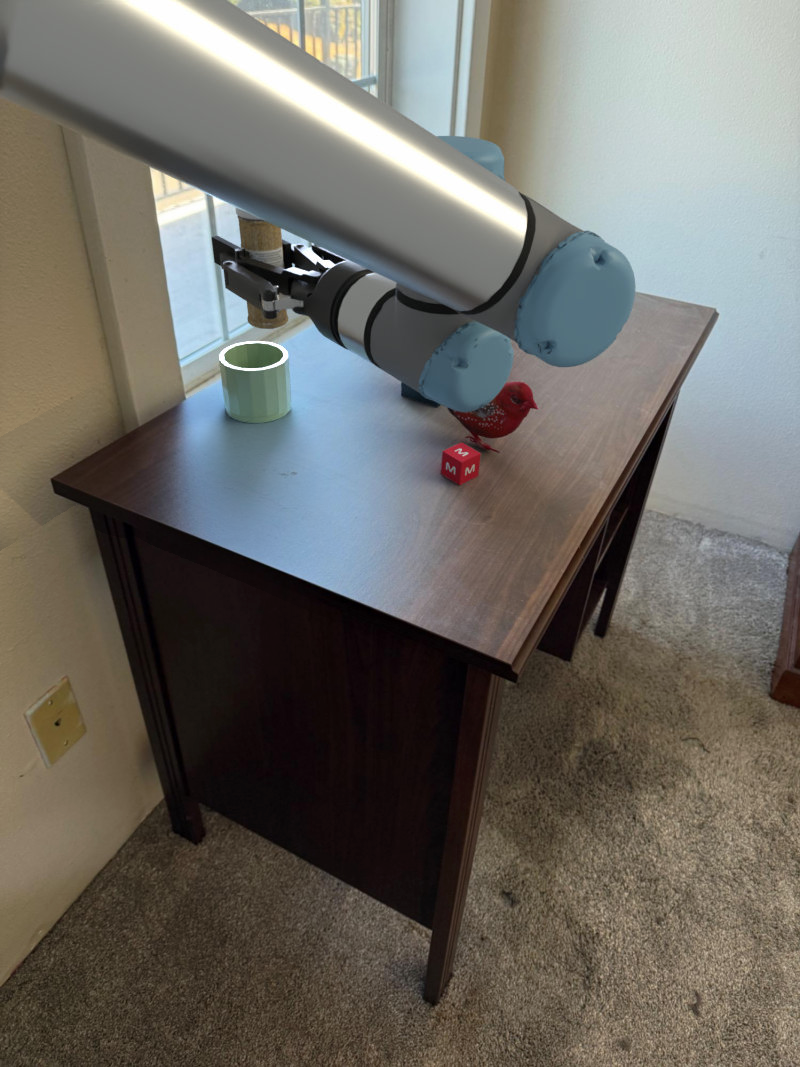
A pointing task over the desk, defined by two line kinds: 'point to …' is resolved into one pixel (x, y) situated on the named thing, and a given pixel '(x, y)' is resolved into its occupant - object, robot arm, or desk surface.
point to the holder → (255, 381)
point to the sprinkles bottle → (262, 259)
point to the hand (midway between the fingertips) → (237, 245)
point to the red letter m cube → (460, 463)
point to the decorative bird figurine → (498, 414)
